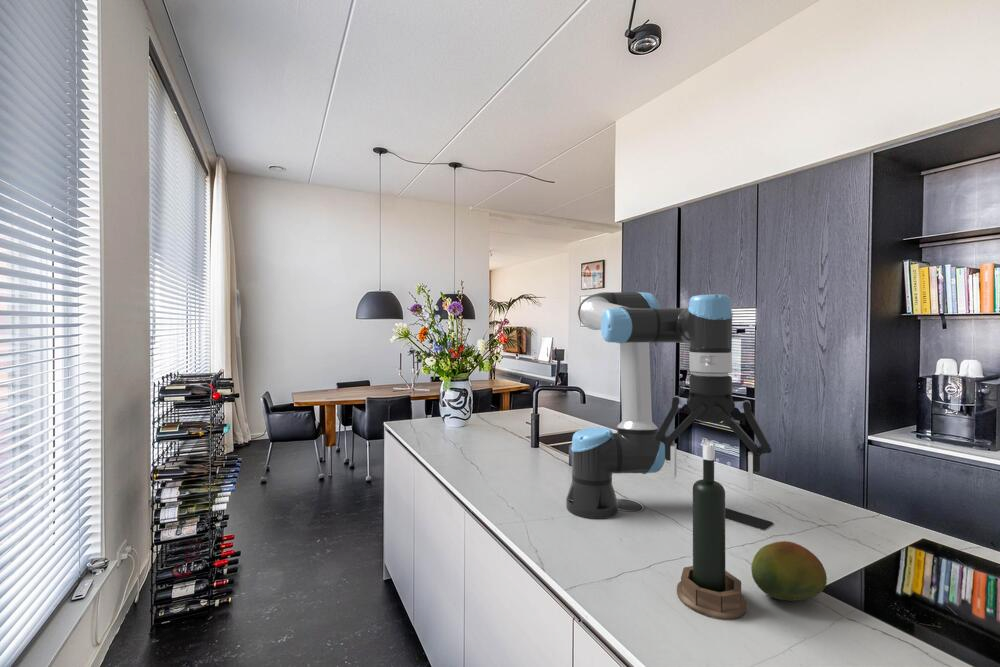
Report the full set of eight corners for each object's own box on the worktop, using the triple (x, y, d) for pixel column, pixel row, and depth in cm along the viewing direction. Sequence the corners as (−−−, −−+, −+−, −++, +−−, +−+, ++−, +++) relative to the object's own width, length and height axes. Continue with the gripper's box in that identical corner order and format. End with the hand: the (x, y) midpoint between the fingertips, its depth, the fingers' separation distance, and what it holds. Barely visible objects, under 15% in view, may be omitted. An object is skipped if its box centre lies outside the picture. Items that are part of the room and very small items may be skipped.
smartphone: (719, 505, 132) (774, 522, 120) (719, 508, 132) (775, 525, 120) (707, 512, 127) (763, 530, 115) (707, 514, 127) (763, 532, 115)
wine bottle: (710, 606, 82) (710, 446, 82) (686, 590, 88) (686, 439, 88) (732, 599, 85) (731, 443, 85) (707, 583, 90) (707, 436, 90)
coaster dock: (672, 606, 84) (672, 586, 84) (681, 575, 95) (681, 557, 95) (747, 627, 78) (747, 606, 78) (747, 591, 89) (747, 572, 89)
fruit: (834, 600, 86) (834, 549, 86) (806, 625, 79) (806, 569, 78) (770, 573, 95) (770, 527, 95) (740, 593, 88) (740, 543, 88)
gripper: (640, 372, 89) (641, 477, 89) (787, 378, 77) (788, 500, 77) (648, 370, 96) (648, 467, 96) (784, 375, 83) (784, 487, 83)
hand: (710, 482), depth 86 cm, fingers open, 13 cm apart
